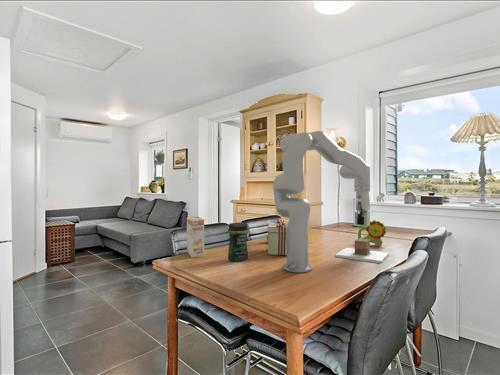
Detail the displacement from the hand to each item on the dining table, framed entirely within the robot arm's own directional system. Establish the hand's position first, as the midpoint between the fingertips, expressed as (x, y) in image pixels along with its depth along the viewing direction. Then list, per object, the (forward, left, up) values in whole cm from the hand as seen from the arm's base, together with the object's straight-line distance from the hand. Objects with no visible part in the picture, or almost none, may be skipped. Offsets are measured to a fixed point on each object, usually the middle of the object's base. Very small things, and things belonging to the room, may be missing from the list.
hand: (362, 223), depth 149 cm
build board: (0, 0, -17) cm, 17 cm away
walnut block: (0, 0, -16) cm, 16 cm away
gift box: (-14, +38, -17) cm, 44 cm away
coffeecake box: (-45, +76, -17) cm, 89 cm away
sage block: (0, 0, -1) cm, 1 cm away
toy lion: (+30, +2, -17) cm, 35 cm away
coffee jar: (-41, +49, -17) cm, 66 cm away
